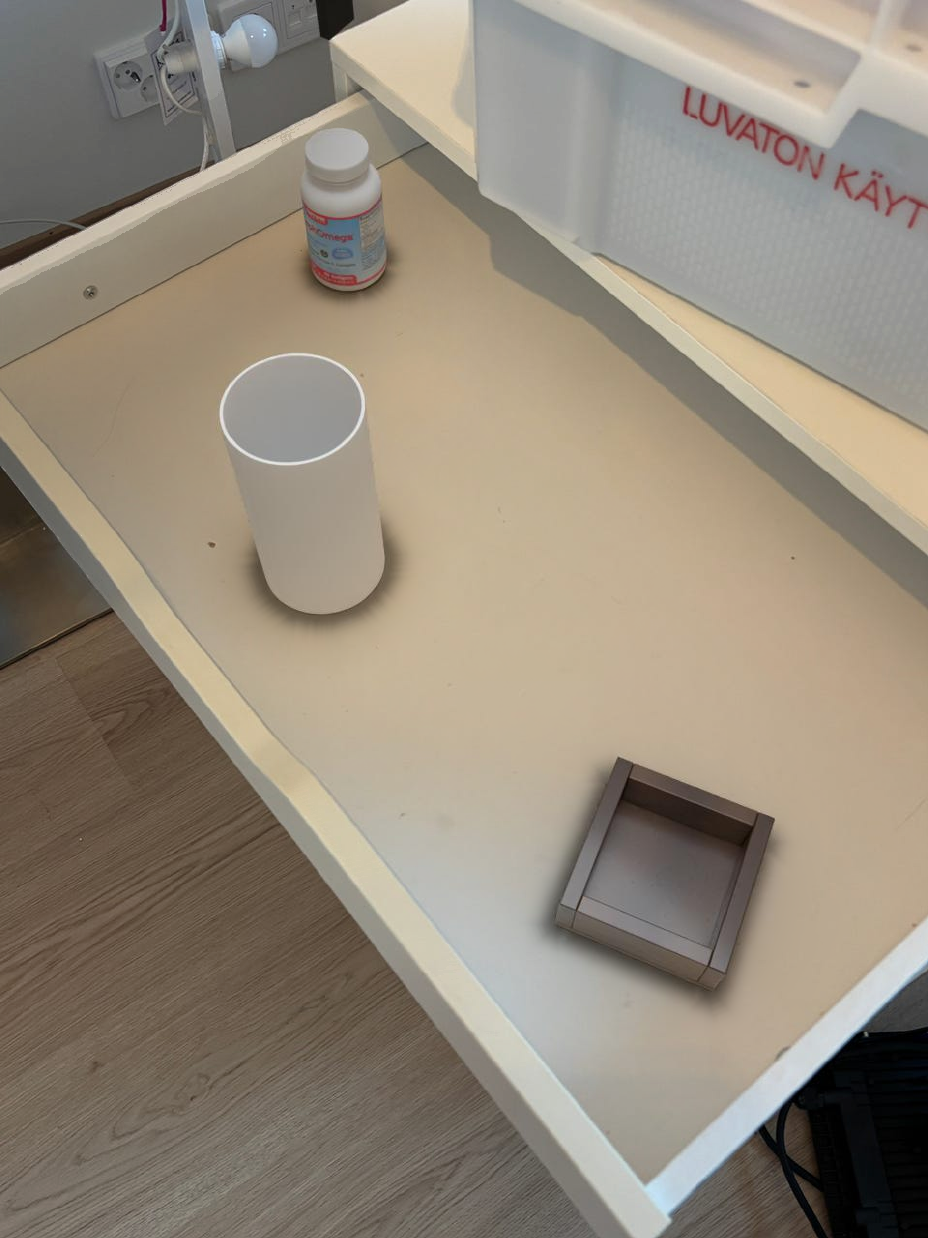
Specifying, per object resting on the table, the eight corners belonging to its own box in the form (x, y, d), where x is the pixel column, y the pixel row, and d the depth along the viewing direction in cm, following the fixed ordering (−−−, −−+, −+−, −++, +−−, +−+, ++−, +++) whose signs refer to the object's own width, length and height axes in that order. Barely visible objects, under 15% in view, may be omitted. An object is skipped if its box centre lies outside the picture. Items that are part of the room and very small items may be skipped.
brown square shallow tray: (554, 924, 65) (558, 903, 62) (610, 782, 70) (617, 756, 66) (712, 991, 63) (726, 974, 60) (759, 842, 68) (775, 818, 64)
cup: (322, 637, 75) (288, 491, 61) (238, 565, 78) (188, 410, 64) (409, 559, 78) (396, 403, 64) (325, 493, 81) (295, 330, 67)
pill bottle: (296, 274, 91) (276, 154, 82) (343, 230, 94) (328, 109, 84) (356, 305, 90) (343, 187, 80) (403, 260, 92) (395, 139, 82)
